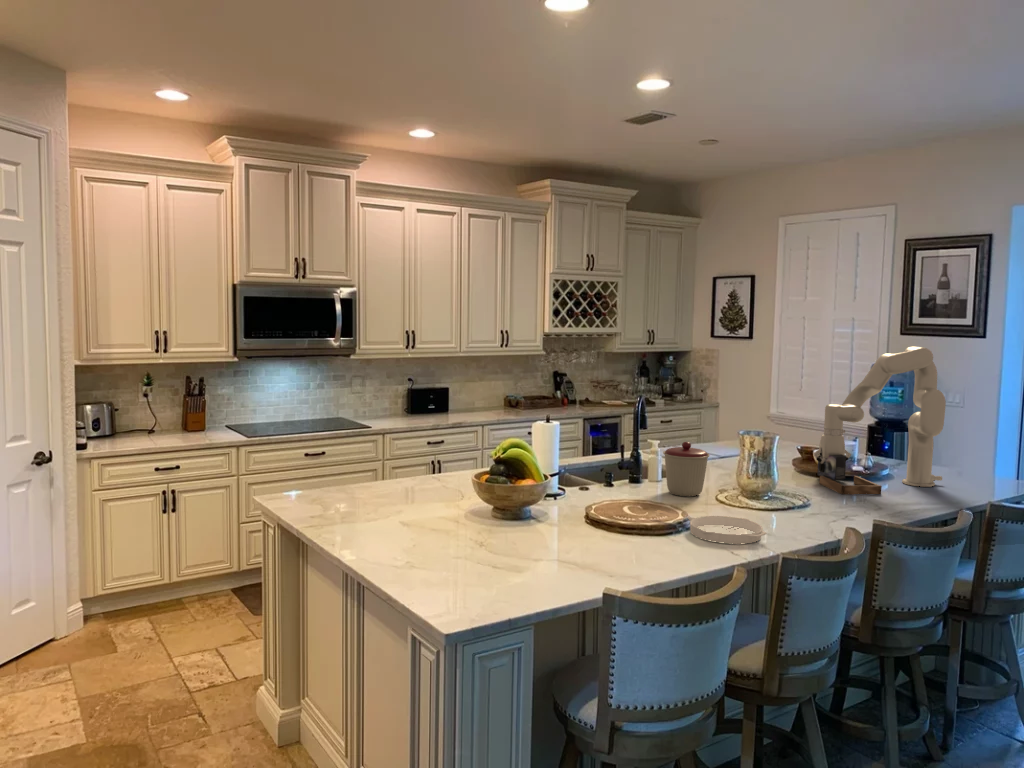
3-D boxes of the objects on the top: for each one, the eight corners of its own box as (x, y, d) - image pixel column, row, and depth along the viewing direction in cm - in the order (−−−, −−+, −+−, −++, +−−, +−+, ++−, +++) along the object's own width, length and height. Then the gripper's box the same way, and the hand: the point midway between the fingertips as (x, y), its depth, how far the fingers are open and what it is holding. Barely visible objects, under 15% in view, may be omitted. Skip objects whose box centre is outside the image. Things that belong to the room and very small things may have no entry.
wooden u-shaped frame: (856, 483, 335) (856, 475, 335) (880, 494, 315) (881, 486, 315) (819, 483, 334) (819, 475, 334) (841, 494, 314) (842, 485, 314)
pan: (740, 552, 234) (741, 540, 234) (634, 523, 265) (634, 513, 264) (781, 537, 251) (782, 527, 251) (677, 512, 281) (677, 503, 281)
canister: (684, 501, 298) (686, 447, 296) (652, 491, 313) (654, 440, 311) (717, 496, 307) (719, 443, 306) (684, 487, 323) (686, 437, 321)
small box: (816, 475, 345) (817, 452, 344) (827, 474, 348) (828, 451, 347) (834, 480, 335) (835, 456, 334) (845, 479, 338) (847, 455, 337)
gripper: (848, 431, 344) (846, 470, 345) (810, 431, 343) (808, 470, 344) (856, 433, 336) (854, 473, 338) (817, 433, 335) (815, 473, 337)
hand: (831, 471), depth 341 cm, fingers closed on small box, 7 cm apart
